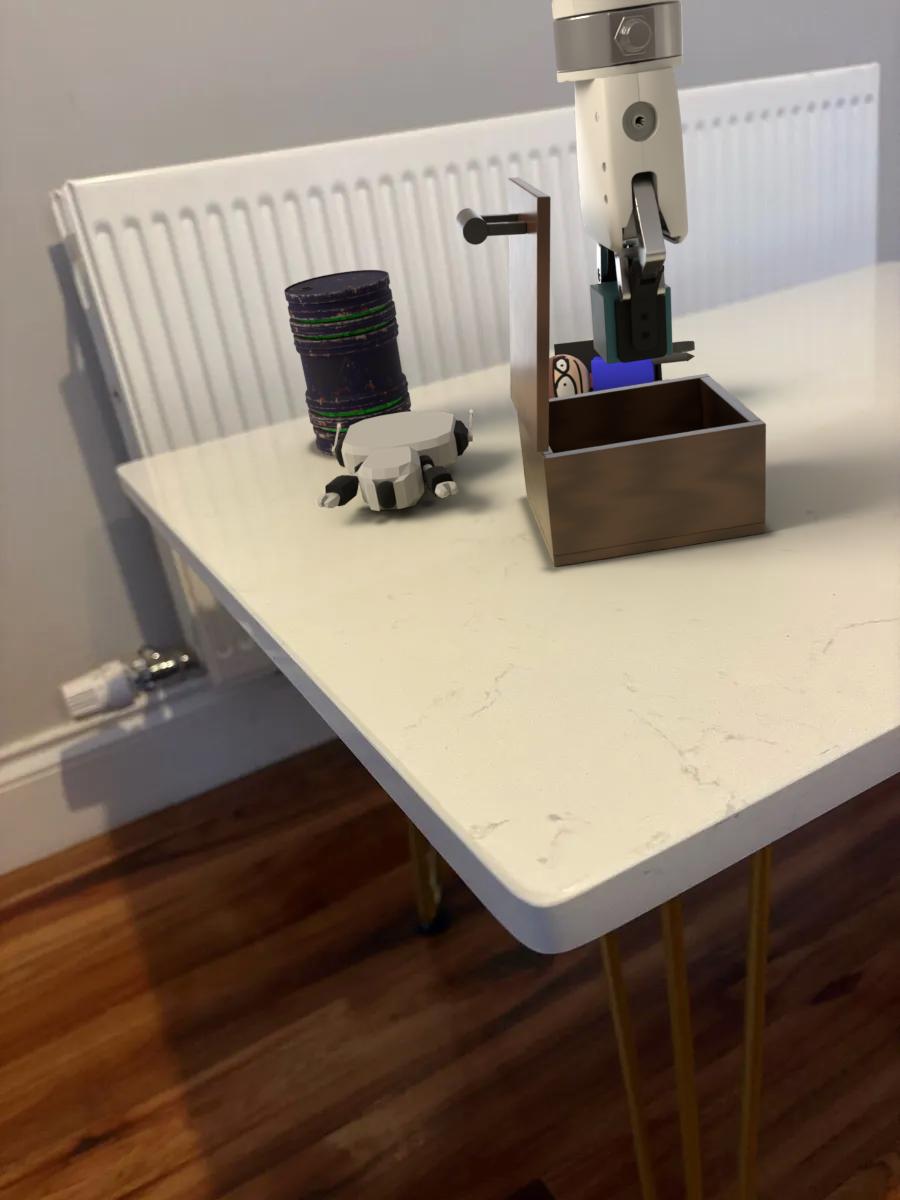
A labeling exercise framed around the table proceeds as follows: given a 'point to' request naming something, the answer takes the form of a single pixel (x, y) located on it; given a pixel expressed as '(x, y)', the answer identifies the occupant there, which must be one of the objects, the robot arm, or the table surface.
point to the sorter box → (646, 470)
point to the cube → (605, 320)
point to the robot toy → (397, 459)
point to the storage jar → (347, 350)
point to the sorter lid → (524, 297)
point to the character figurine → (604, 368)
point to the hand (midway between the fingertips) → (632, 346)
